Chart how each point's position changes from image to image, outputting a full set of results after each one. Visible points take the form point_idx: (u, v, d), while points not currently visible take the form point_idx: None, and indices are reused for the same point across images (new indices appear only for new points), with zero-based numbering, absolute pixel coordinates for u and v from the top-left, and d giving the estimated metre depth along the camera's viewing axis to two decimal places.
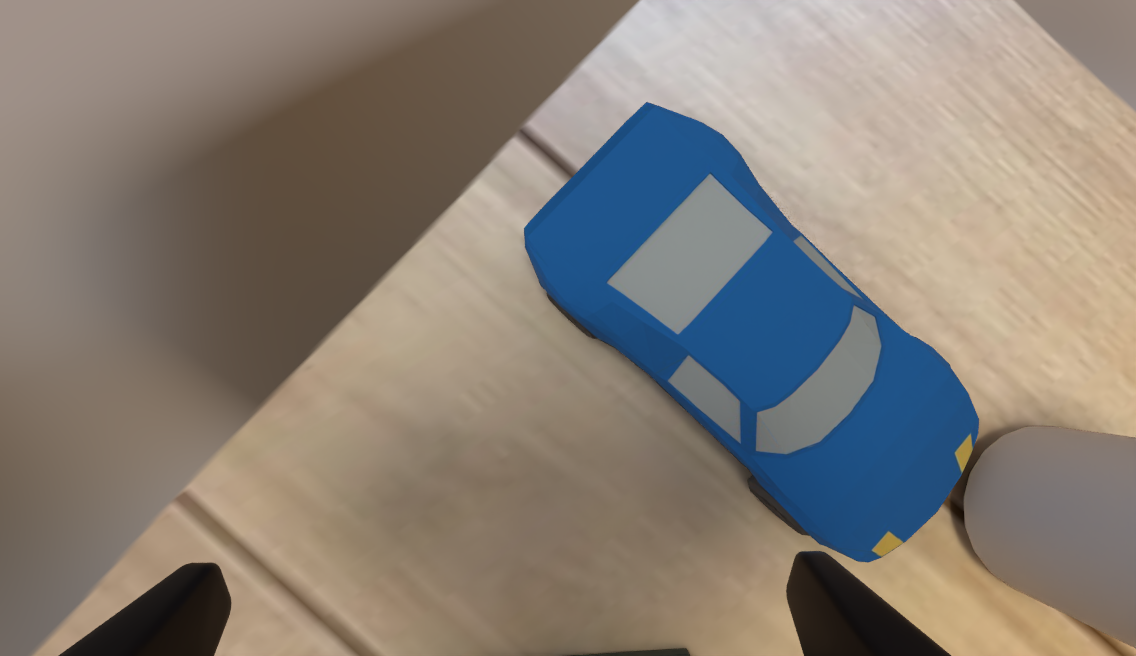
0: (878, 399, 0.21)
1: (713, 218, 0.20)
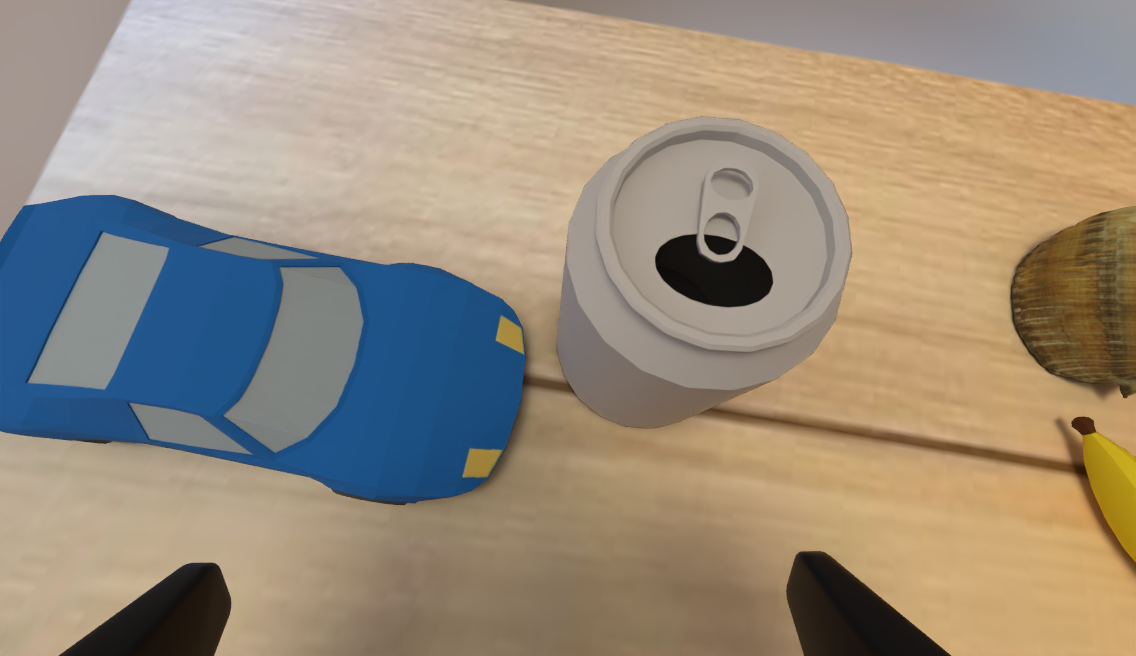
0: (377, 335, 0.20)
1: (115, 267, 0.19)
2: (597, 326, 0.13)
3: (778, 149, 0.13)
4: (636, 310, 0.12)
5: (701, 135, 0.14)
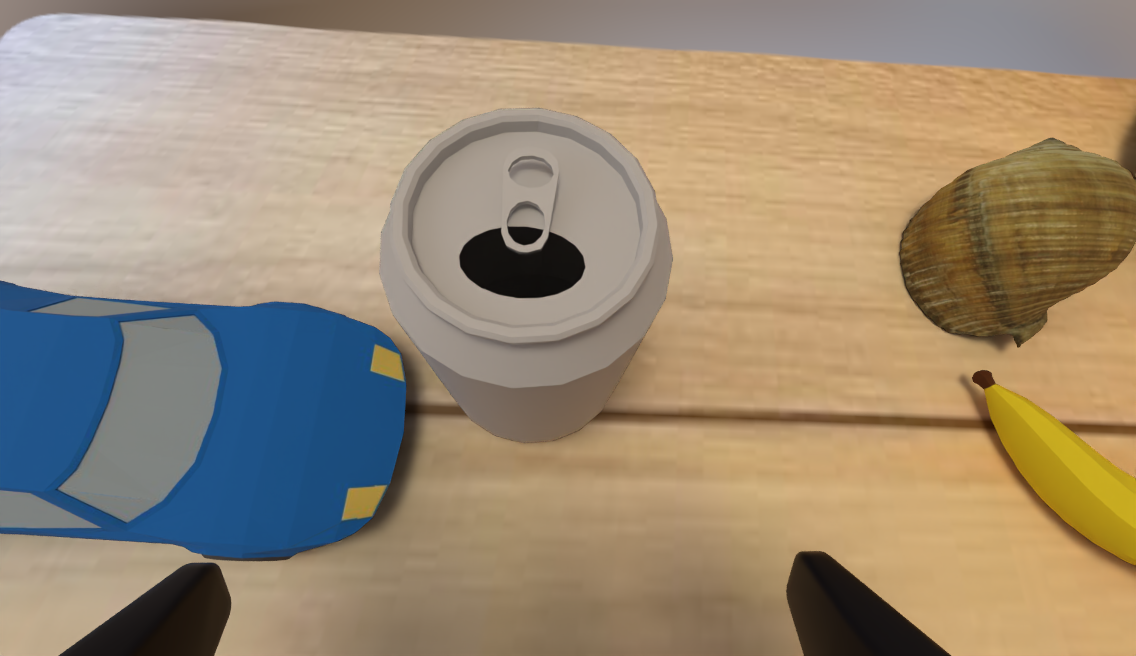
0: (237, 381, 0.19)
1: None
2: (413, 336, 0.12)
3: (580, 133, 0.13)
4: (433, 312, 0.11)
5: (502, 128, 0.13)
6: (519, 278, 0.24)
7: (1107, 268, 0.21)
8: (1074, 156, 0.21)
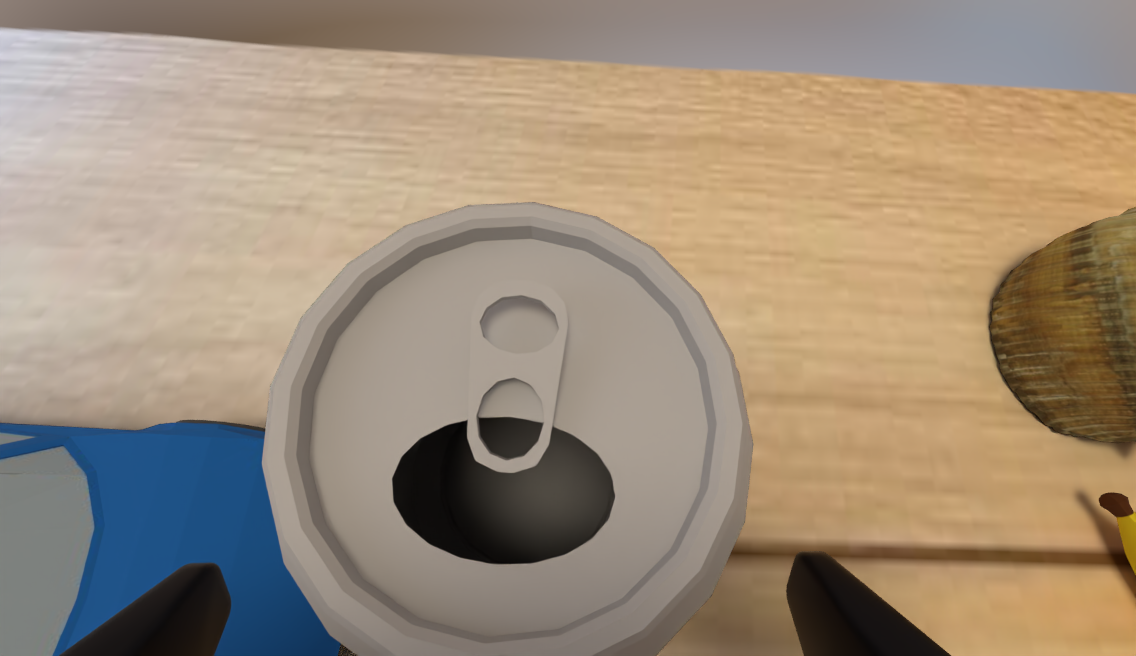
0: (115, 545, 0.13)
1: None
2: (315, 609, 0.07)
3: (603, 246, 0.08)
4: (334, 619, 0.06)
5: (473, 236, 0.08)
6: None
7: None
8: None
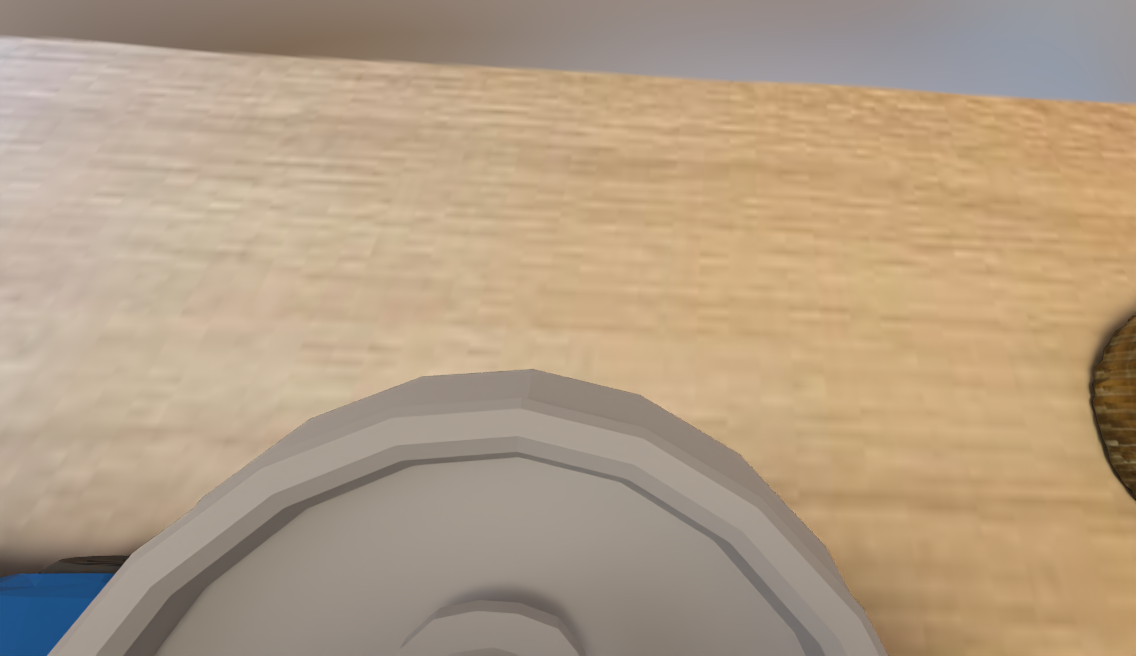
0: None
1: None
2: None
3: (660, 494, 0.04)
4: None
5: (403, 467, 0.04)
6: None
7: None
8: None
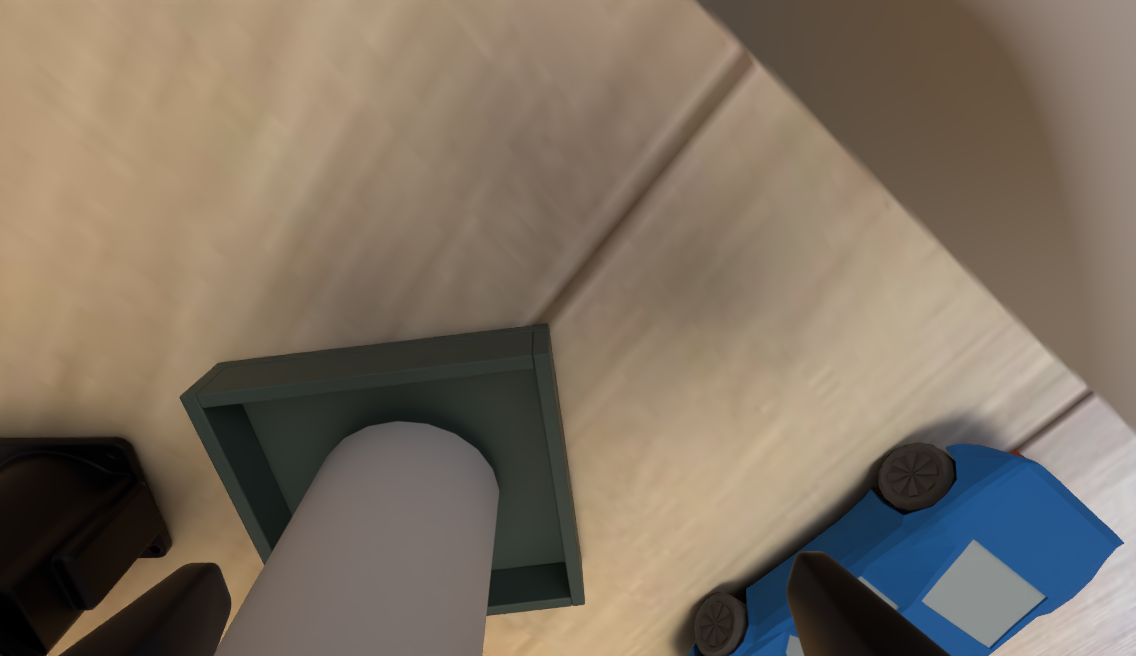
0: None
1: (1008, 606, 0.23)
2: None
3: None
4: None
5: None
6: (491, 471, 0.22)
7: None
8: None
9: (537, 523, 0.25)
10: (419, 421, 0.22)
